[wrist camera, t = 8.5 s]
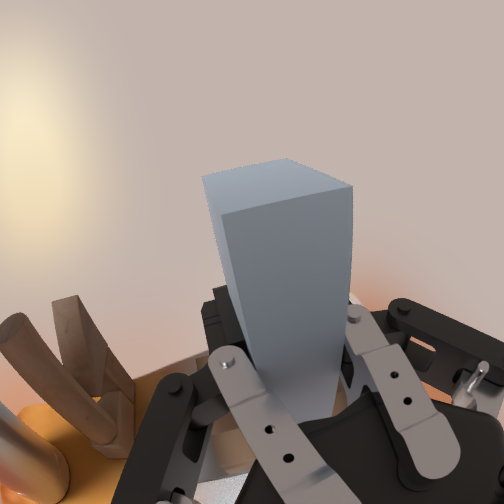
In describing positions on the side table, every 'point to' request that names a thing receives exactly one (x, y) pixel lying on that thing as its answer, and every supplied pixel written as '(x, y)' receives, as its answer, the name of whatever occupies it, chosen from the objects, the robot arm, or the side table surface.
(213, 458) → the wooden socket base
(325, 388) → the rectangular block
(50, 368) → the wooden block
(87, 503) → the side table surface
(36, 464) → the robot arm
